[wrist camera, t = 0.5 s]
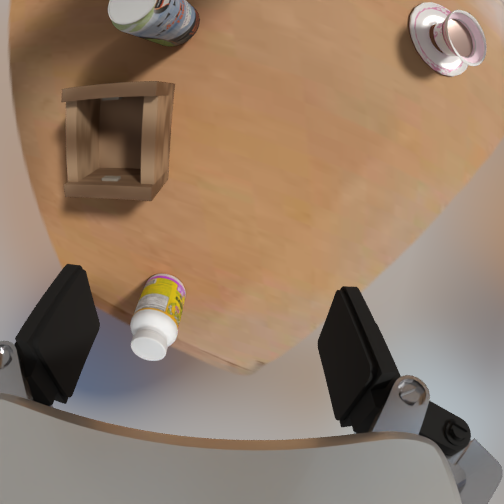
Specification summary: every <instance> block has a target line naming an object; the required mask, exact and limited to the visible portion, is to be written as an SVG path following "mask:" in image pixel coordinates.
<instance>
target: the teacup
mask: <svg viewBox="0 0 504 504" xmlns="http://www.w3.org/2000/svg"><path fill="white" fill-rule="evenodd" d="M434 24H436V25H435V27H434V31H433V34H434V39H435V42H436V44H437V46H438V47H439V48H440V50H441V51H442V52H443V53H442V52H440V51H438V50H437V49H436V48H435V47H434V45H433V44H432V42H431V39H430V36H429V30H430V28H431V26H432V25H434ZM409 28H410V34H411V38H412V41H413V43H414V45H415V48H416V50H417V51H418V53H419V54H420V56H421V57H422V59H423V60H424V61H425V62H426V63H427V64H428V65H429V66H430V67H431V68H432V69H433V70H435V71H437V72H439V73H440V74H442V75H447V76H456V75H460V74H461V73H463V72H464V71H465V70H466V69H467V67H468V65H470V66H477V65H479V64H481V63H482V62H483V60H484V58H485V55H486V39H485V36H484V33H483V30H482V28H481V26H480V25H479V23H478V22H477V20H476V19H475V18H474V17H473V16H472V15H471V14H470V13H468V12H466V11H463V10H455V11H453V12H451V11H449V10H448V9H446V8H445V7H443V6H442V5H439V4H435V3H432V2H429V3H421V4H420V5H418V6H416V7H415V8H414V10H413V11H412V13H411V15H410V22H409Z"/></svg>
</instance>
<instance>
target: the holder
mask: <svg viewBox="0 0 504 504" xmlns="http://www.w3.org/2000/svg"><path fill="white" fill-rule="evenodd" d="M174 89H175V84H173V83H166V82H159V81H144V82H122V83H109V84H98V85H89V86H80V87H73V88H66V89H62V101H61V102H66V160H67V176H68V182H67V183H65V184H64V192H65V197H86V198H108V199H126V200H142V201H152V200H153V198H154V197H155V196H156V194H157V193H158V192H159V190H160V189H161V188H162V187H163V185H164V184H165V183H166V181H167V180H168V173H169V152H170V135H171V122H172V110H173V99H174Z"/></svg>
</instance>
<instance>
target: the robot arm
mask: <svg viewBox="0 0 504 504" xmlns="http://www.w3.org/2000/svg"><path fill="white" fill-rule="evenodd" d="M99 326H100V323H99V319H98V316H97V312H96V309H95V305H94V301H93V298H92V294H91V290H90V286H89V282H88V278H87V274H86V271H85V270H83V269H82V267H81V266H80V265H72V264H67V265H66V266H65V267H64V268H63V269H62V271H61V272H60V273H59V275H58V276H57V278H56V279H55V280H54V281H53V283H52V284H51V286H50V287H49V288H48V290H47V291H46V292H45V294H44V295H43V297H42V298H41V299H40V301H39V302H38V304H37V305H36V307H35V308H34V310H33V311H32V313H31V314H30V316H29V317H28V319H27V321H26V322H25V323H24V325H23V326H22V328H21V330H20V331H19V333H18V335H17V336H16V338H15V339H16V343H15V345H14V344H13V343H11V342H9V341H1V342H0V504H488V502H489V500H490V499H491V497H492V495H493V494H494V492H495V490H496V488H497V487H498V485H499V483H500V481H501V478H502V467H501V465H500V464H499V462H498V461H497V460H496V459H495V458H494V457H493V456H492V455H491V454H490V453H489V452H488V451H487V450H486V449H485V448H484V447H483V446H482V445H481V444H480V443H479V442H478V441H477V440H476V439H473V440H471V439H470V437H471V433H470V429H469V426H468V425H467V423H466V422H465V421H464V420H462V419H461V418H459V417H458V416H455V415H454V414H452V413H450V412H448V411H447V410H445V409H443V408H441V407H440V406H438V405H436V404H434V403H433V402H430V401H429V399H430V394H429V390H428V388H427V386H426V384H425V383H424V382H423V381H421V380H420V379H419V378H417V377H414V376H410V375H405V376H400V374H399V372H398V369H397V367H396V365H395V362H394V360H393V358H392V356H391V353H390V351H389V349H388V347H387V345H386V343H385V340H384V338H383V336H382V334H381V332H380V330H379V327H378V325H377V324H376V323H375V321H374V319H373V316H372V314H371V312H370V310H369V308H368V306H367V305H366V302H365V300H364V299H363V296H362V294H361V292H360V290H359V289H358V288H357V287H345V286H343V287H342V288H341V289H340V290H337V291H336V293H335V296H334V299H333V302H332V304H331V307H330V310H329V313H328V315H327V318H326V321H325V324H324V326H323V329H322V331H321V334H320V337H319V339H318V350H319V354H320V358H321V362H322V365H323V369H324V374H325V377H326V382H327V386H328V390H329V394H330V398H331V403H332V407H333V411H334V415H335V418H336V420H340V424H341V427H347V426H352V427H353V431H354V434H350V435H342V436H332V437H321V438H308V439H292V440H225V439H209V438H195V437H186V436H177V435H170V434H163V433H156V432H150V431H144V430H138V429H133V428H128V427H123V426H118V425H114V424H109V423H105V422H101V421H97V420H93V419H89V418H86V417H82V416H79V415H75V414H72V413H68V412H65V411H61V410H59V409H55V408H53V406H52V404H53V402H54V400H56V401H59V402H62V403H65V404H66V402H67V400H68V397H71V396H72V394H73V392H74V389H75V387H76V384H77V381H78V379H79V376H80V374H81V371H82V369H83V366H84V364H85V361H86V359H87V356H88V354H89V351H90V349H91V347H92V344H93V342H94V340H95V338H96V335H97V333H98V331H99Z"/></svg>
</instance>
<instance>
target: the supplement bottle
mask: <svg viewBox="0 0 504 504" xmlns="http://www.w3.org/2000/svg"><path fill="white" fill-rule="evenodd" d="M185 295H186V292H185V288H184V286H183V284H182V283H181V282H180V281H179V280H178V279H177V278H176V277H174V276H172V275H169V274H156V275H154V276H152V277H151V278H149V279H148V281H147V282H146V284H145V287H144V289H143V292H142V294H141V297H140V299H139V302H138V304H137V307H136V309H135V312H134V315H133V317H132V320H131V324H130V328H131V332H132V334H133V338H132V342H131V348H132V350H133V351H134V353H135V354H136V355H138V356H139V357H141V358H143V359H145V360H150V361H157V360H161V359H163V358H164V357H165V355H166V351H167V347H168V346H170V345H171V344H172V343H173V342H174V341H175V340H176V337H177V334H178V329H179V324H180V319H181V315H182V310H183V305H184V301H185Z"/></svg>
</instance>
